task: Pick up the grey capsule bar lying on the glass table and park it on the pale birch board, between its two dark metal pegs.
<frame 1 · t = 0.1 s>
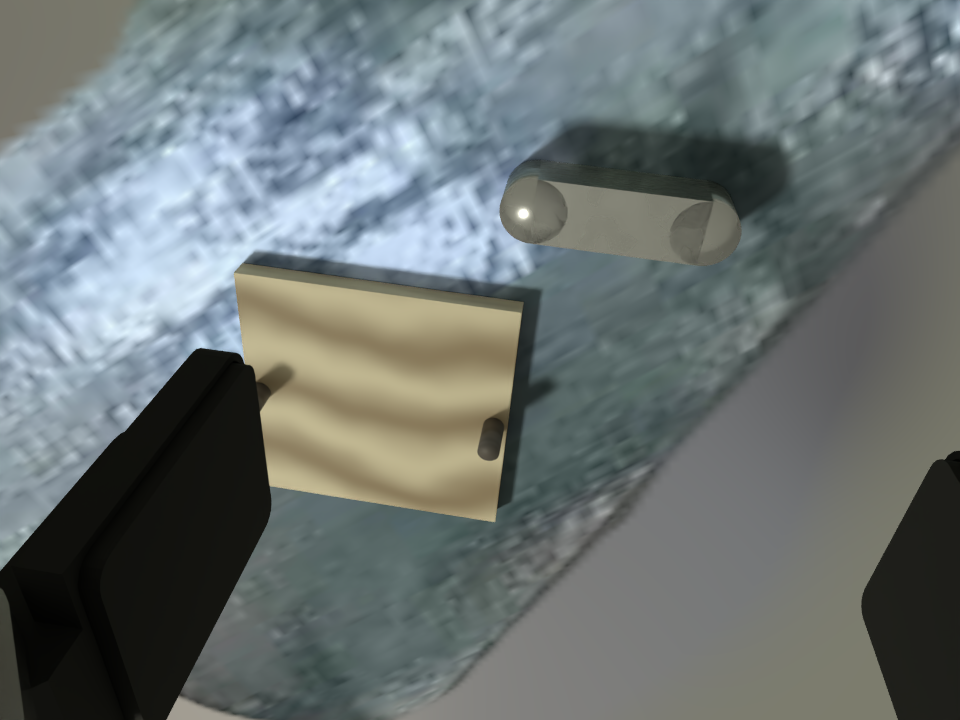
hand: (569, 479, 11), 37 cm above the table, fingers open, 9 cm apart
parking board: (380, 396, 57), on the table
grey capsule bar: (617, 200, 46), on the table
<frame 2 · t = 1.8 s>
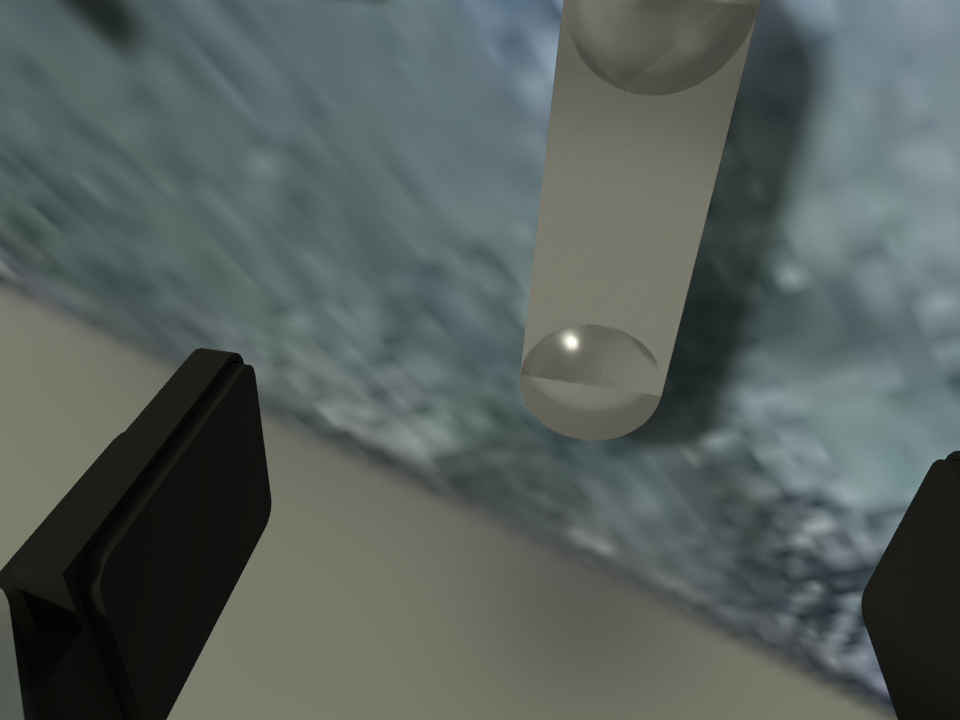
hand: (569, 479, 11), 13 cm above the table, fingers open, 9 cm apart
grey capsule bar: (621, 172, 21), on the table
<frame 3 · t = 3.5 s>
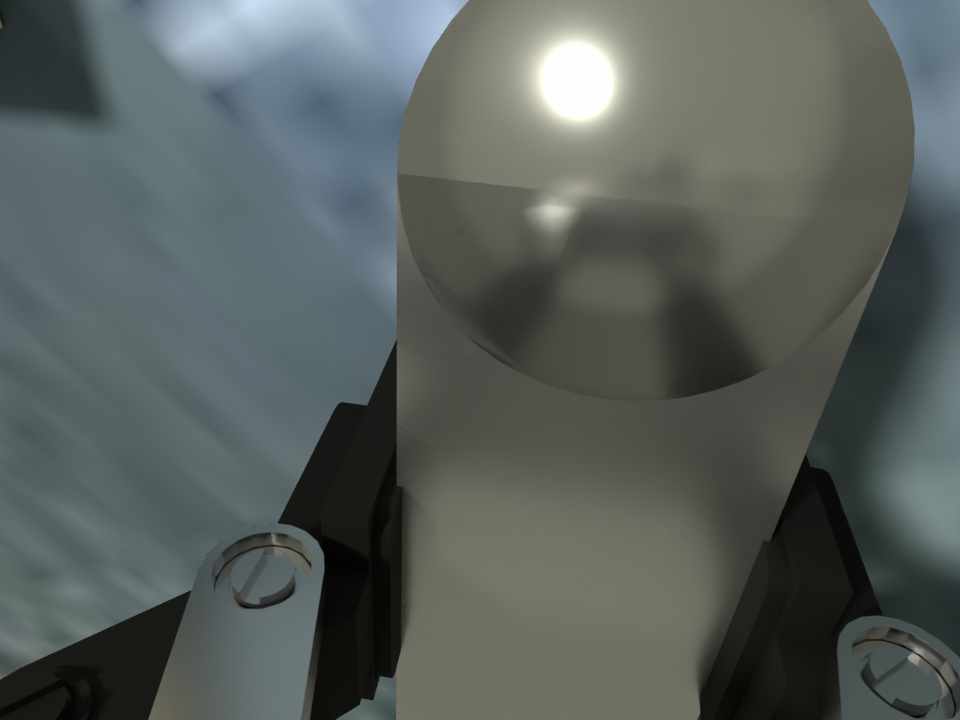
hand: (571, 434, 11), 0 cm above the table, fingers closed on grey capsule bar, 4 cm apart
grey capsule bar: (573, 420, 12), on the table, touching gripper
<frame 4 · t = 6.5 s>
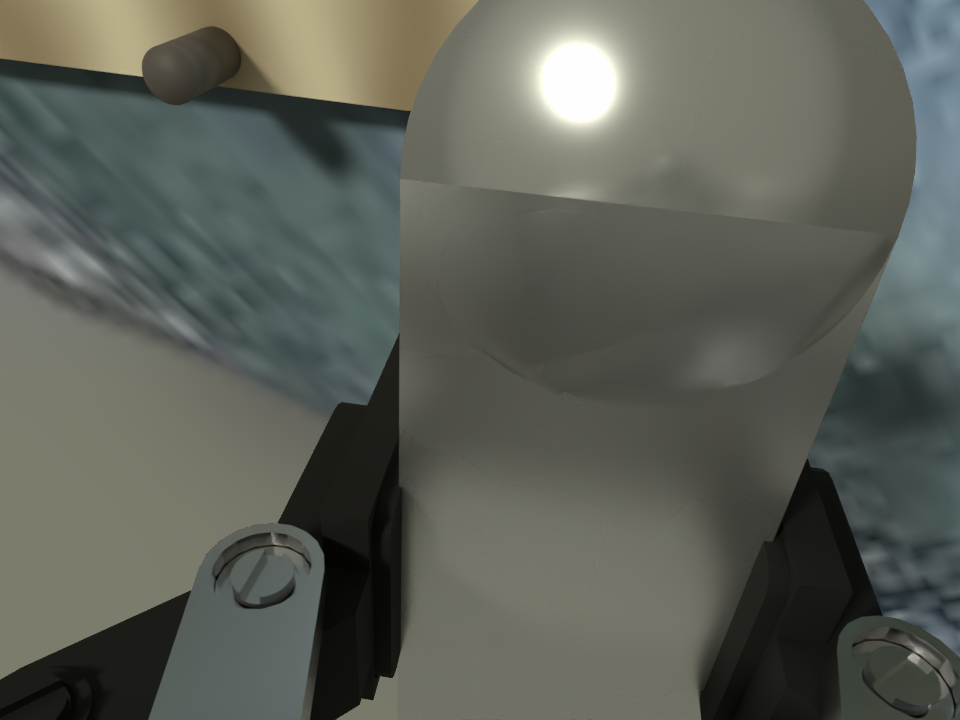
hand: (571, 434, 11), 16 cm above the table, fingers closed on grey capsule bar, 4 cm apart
grey capsule bar: (574, 422, 12), point 15 cm above the table, touching gripper
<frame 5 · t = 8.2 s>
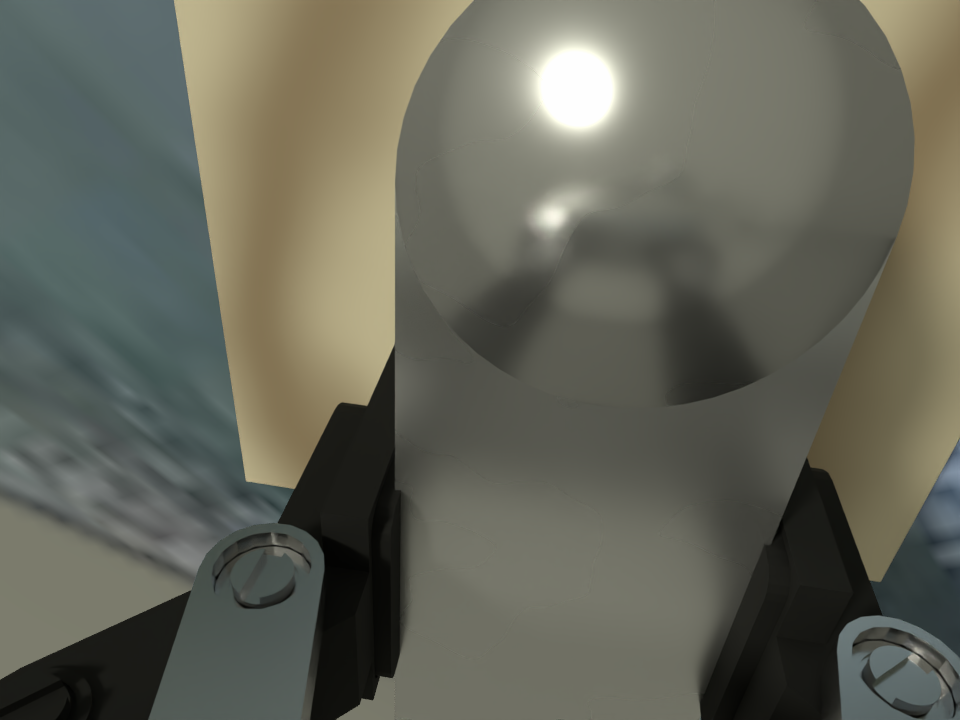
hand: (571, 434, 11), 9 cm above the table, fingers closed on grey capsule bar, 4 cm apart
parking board: (601, 212, 19), on the table
grey capsule bar: (572, 424, 12), point 9 cm above the table, touching gripper
when the fingers open (3 cm above the table, at t = 9.5 s): grey capsule bar stays where it is, resting on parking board.
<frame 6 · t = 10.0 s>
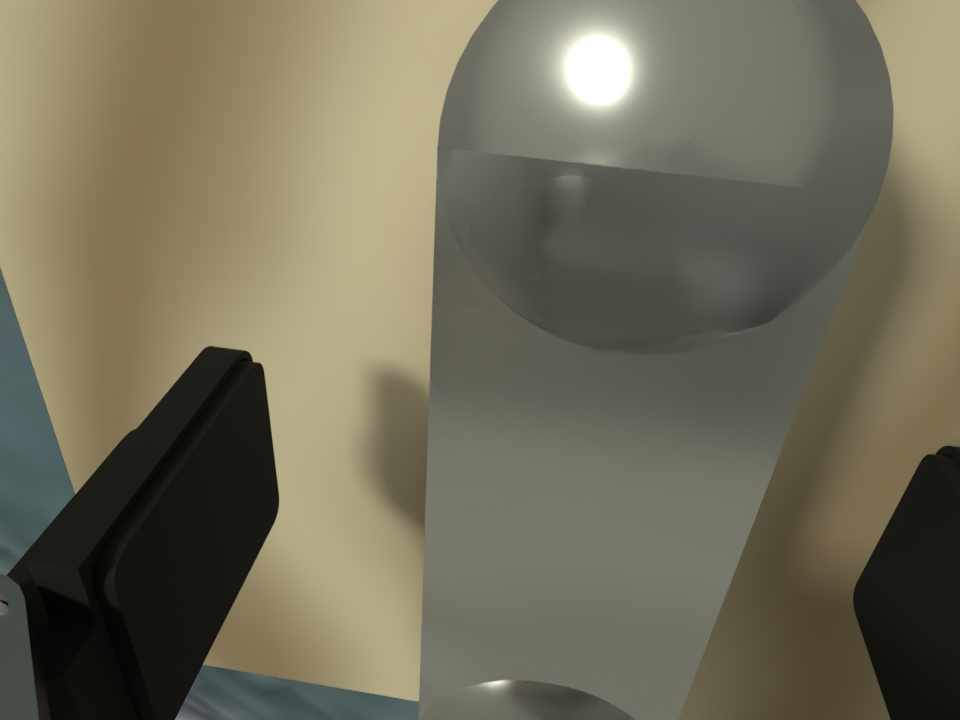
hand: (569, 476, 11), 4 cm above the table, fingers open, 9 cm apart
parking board: (577, 338, 14), on the table
grey capsule bar: (583, 389, 12), point 1 cm above the table, touching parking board
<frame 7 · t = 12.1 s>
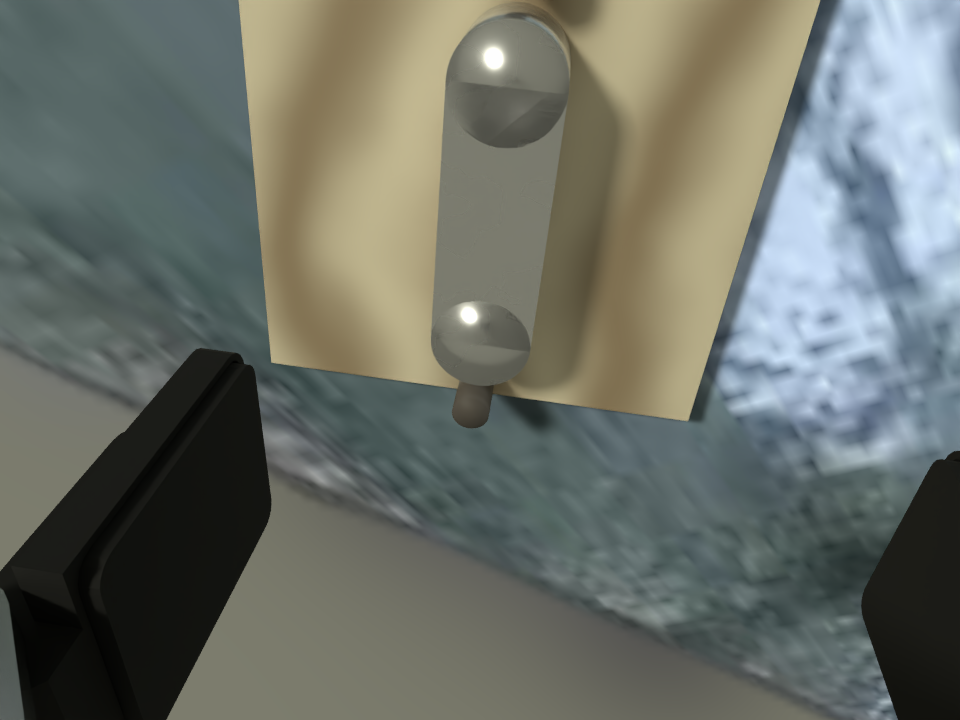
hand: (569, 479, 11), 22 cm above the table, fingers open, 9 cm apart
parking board: (501, 178, 31), on the table
grey capsule bar: (501, 193, 30), point 1 cm above the table, touching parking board
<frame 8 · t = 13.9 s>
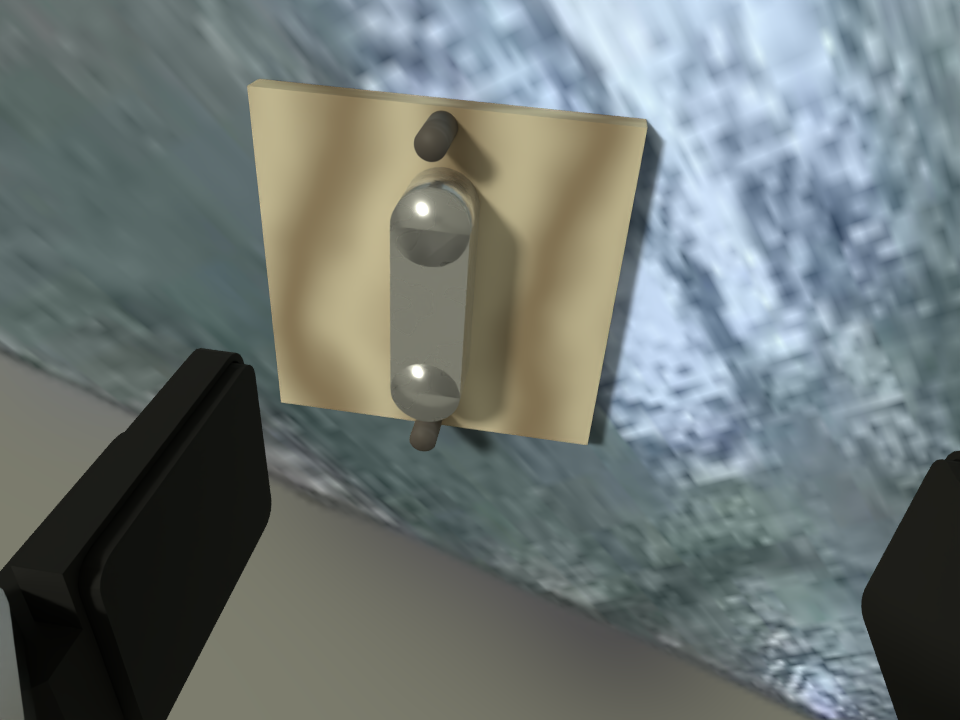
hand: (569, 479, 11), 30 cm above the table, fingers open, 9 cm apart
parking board: (441, 273, 43), on the table
grey capsule bar: (439, 287, 42), point 1 cm above the table, touching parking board
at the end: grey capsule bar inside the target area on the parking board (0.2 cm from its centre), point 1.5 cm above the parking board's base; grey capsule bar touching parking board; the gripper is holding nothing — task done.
